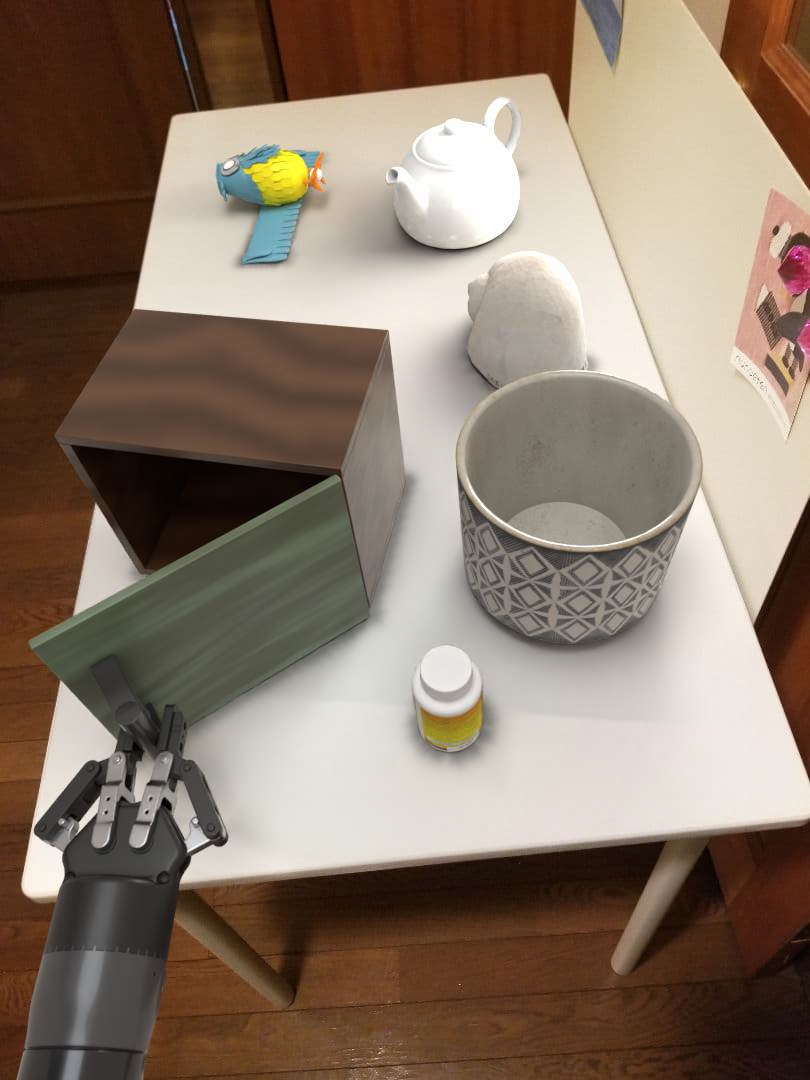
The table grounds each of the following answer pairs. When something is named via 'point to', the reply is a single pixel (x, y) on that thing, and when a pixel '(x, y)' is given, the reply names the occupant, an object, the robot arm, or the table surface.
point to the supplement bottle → (448, 698)
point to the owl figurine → (270, 194)
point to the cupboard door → (214, 618)
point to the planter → (573, 501)
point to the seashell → (525, 319)
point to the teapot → (458, 182)
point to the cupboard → (236, 430)
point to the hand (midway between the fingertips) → (157, 709)
